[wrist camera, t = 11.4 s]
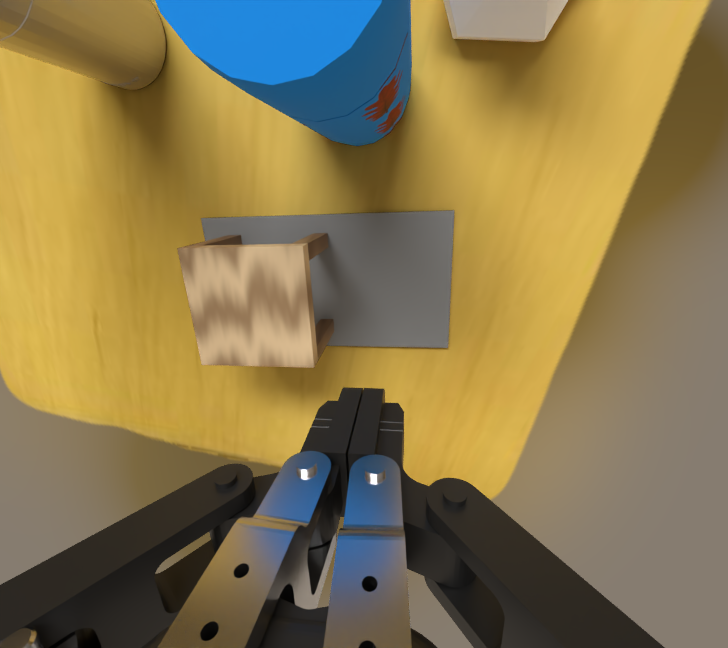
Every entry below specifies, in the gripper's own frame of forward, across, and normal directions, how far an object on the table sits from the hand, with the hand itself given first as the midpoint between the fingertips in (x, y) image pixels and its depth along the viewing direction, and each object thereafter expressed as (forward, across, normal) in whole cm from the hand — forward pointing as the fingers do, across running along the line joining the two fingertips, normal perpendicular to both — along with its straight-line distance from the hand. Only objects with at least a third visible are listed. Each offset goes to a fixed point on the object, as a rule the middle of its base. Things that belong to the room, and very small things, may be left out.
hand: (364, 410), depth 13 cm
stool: (+26, +8, +3) cm, 27 cm away
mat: (+31, +8, +3) cm, 32 cm away
